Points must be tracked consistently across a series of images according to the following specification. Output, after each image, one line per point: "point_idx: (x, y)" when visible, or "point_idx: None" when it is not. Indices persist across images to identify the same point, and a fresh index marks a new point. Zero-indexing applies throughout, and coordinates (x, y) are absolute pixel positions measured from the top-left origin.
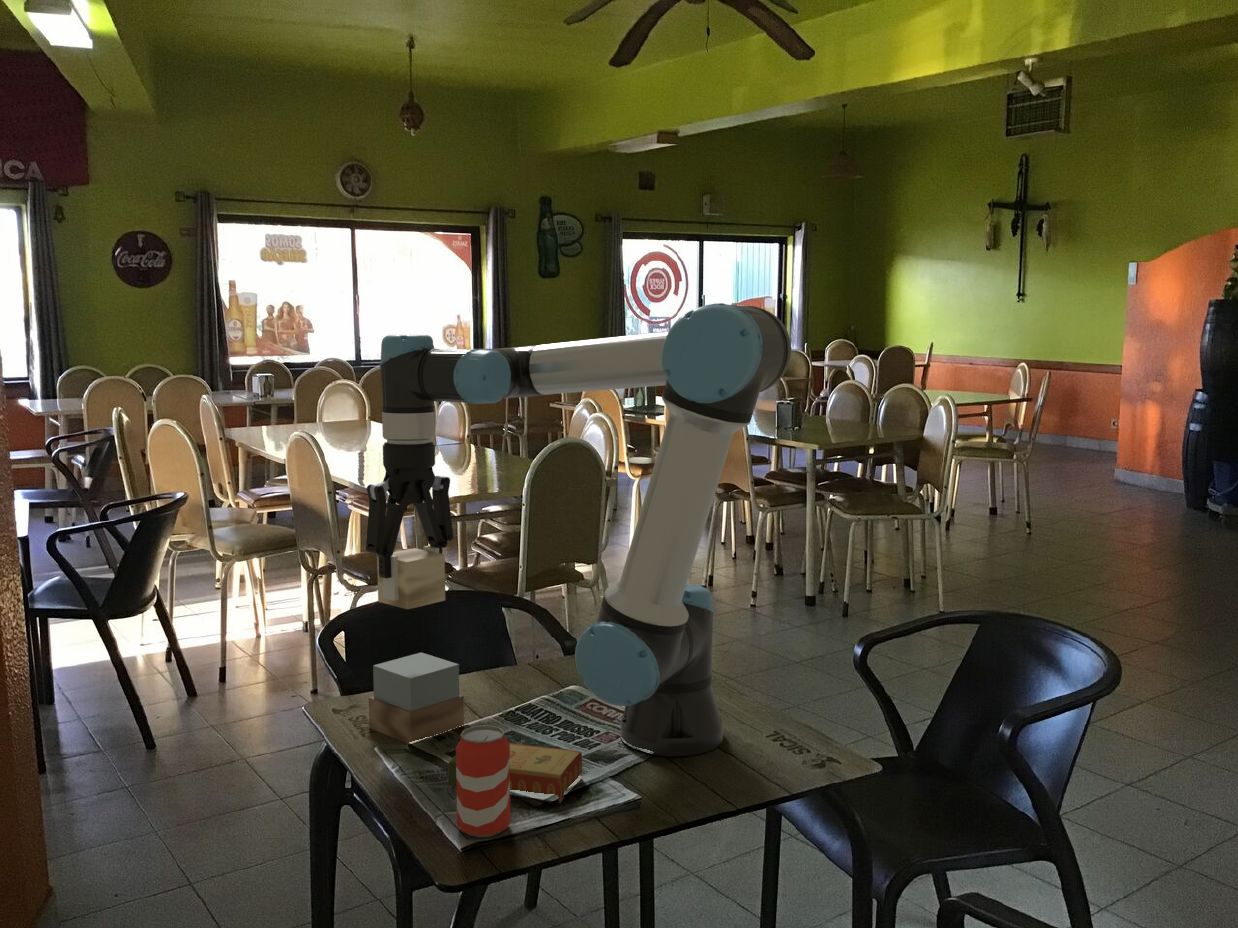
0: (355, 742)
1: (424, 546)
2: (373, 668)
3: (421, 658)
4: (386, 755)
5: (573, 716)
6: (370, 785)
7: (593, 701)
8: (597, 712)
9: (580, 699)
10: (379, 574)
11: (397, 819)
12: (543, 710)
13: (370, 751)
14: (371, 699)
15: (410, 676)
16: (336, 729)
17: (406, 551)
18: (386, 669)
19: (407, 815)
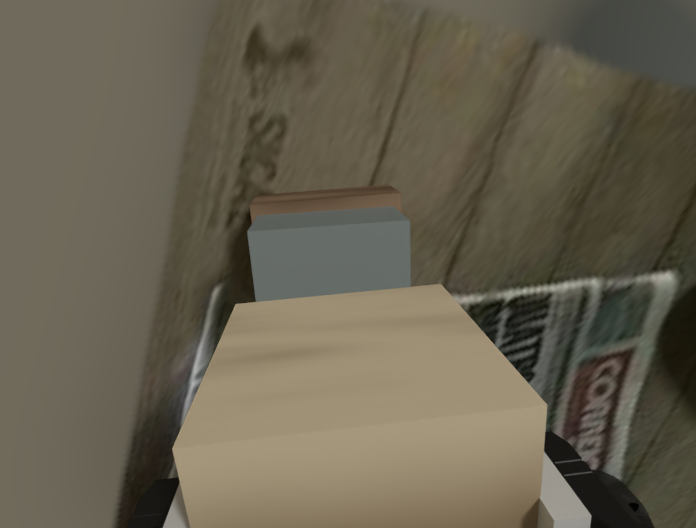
0: (200, 242)
1: (557, 524)
2: (248, 230)
3: (376, 266)
4: (214, 328)
5: (546, 389)
6: (136, 408)
7: (622, 359)
8: (584, 399)
9: (618, 338)
10: (144, 498)
11: (118, 513)
12: (537, 337)
13: (201, 296)
14: (251, 215)
15: None
16: (202, 155)
17: (423, 467)
18: (257, 284)
19: (134, 511)
